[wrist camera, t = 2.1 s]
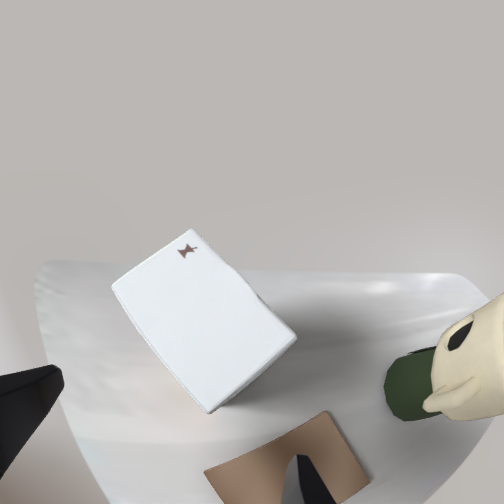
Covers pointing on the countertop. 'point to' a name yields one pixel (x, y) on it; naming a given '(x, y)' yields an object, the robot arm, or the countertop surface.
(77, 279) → the countertop surface
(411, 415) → the character mug
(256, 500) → the curved brown sheet
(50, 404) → the robot arm
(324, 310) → the countertop surface
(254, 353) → the skincare box
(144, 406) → the countertop surface
